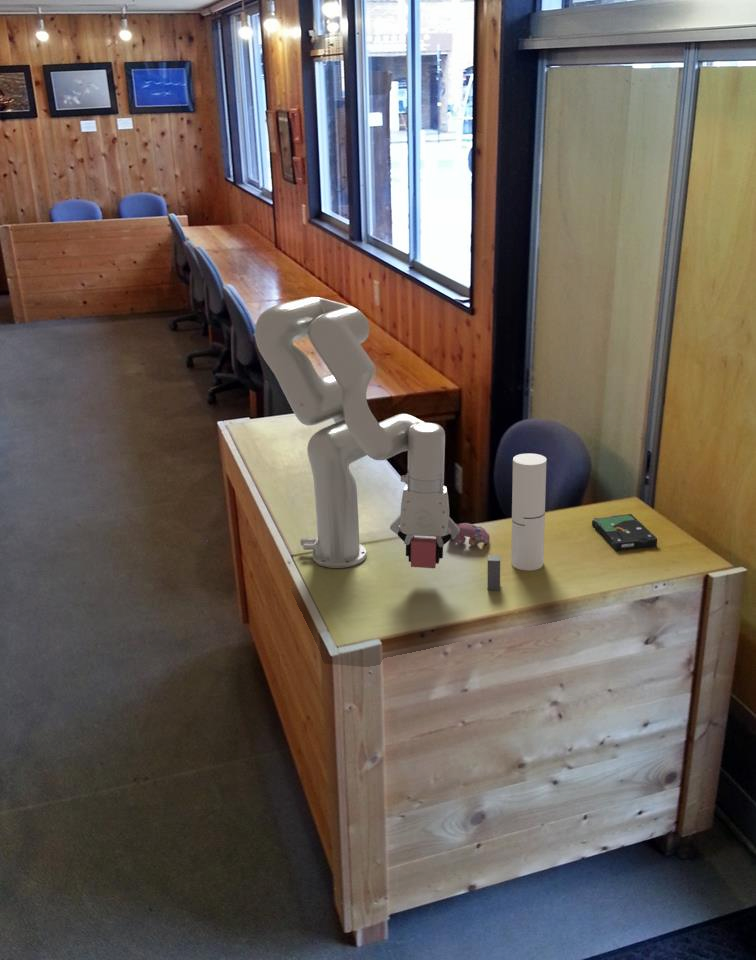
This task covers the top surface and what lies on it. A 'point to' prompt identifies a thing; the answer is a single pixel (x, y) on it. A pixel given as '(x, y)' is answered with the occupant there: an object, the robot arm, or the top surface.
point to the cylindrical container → (528, 511)
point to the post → (494, 572)
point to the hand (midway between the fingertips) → (424, 559)
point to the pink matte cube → (423, 551)
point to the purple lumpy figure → (471, 534)
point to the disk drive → (624, 532)
